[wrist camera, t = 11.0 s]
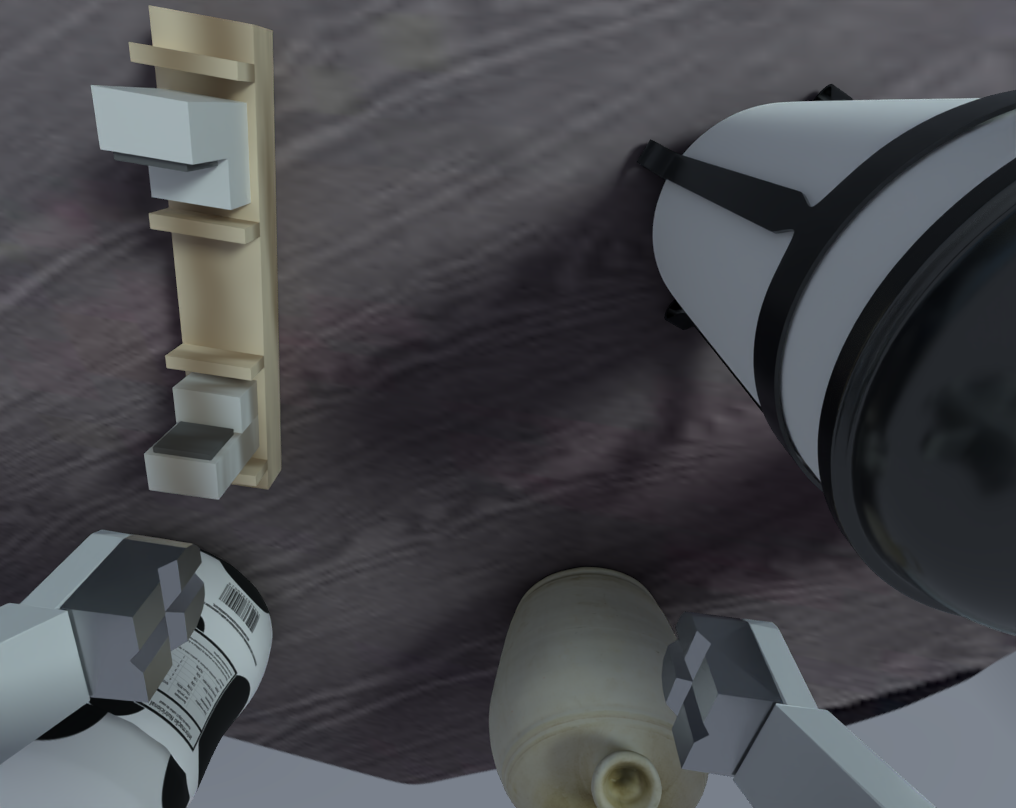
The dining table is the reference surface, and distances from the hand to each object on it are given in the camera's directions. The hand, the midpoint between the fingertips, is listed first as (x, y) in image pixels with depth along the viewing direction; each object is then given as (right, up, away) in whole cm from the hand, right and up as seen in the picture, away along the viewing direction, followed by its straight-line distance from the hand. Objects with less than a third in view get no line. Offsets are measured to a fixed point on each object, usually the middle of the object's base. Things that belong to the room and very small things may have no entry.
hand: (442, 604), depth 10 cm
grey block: (-15, +17, +21) cm, 31 cm away
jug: (+8, -15, +40) cm, 43 cm away
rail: (-16, +11, +27) cm, 33 cm away
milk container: (-27, -13, +40) cm, 50 cm away
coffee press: (+16, +14, +25) cm, 33 cm away
